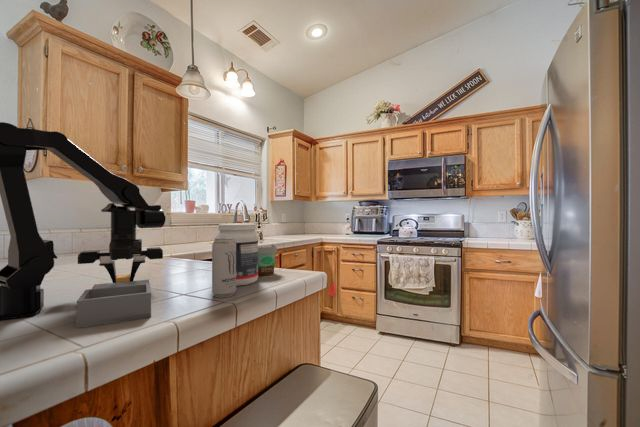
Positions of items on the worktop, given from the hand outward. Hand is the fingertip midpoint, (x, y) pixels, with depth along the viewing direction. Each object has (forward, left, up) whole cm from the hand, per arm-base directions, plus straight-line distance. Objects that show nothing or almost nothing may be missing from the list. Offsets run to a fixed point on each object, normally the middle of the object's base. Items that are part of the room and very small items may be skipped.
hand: (123, 286), depth 81 cm
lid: (0, -5, 0) cm, 5 cm away
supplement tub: (+30, -3, -2) cm, 30 cm away
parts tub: (0, -21, -2) cm, 21 cm away
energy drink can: (+23, -16, -2) cm, 28 cm away
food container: (+42, +4, -2) cm, 42 cm away
